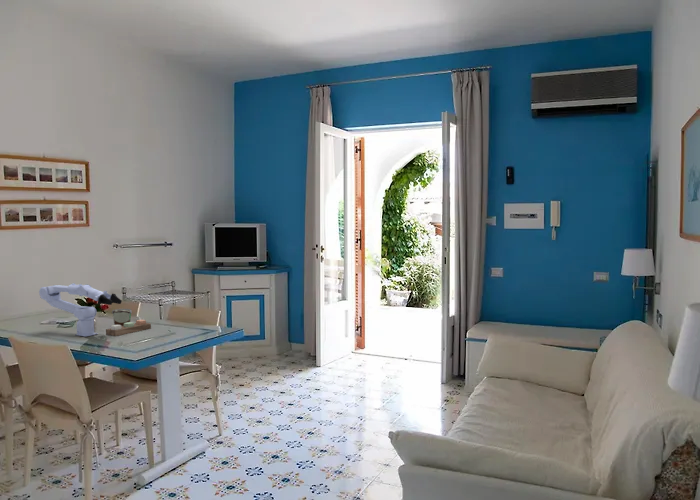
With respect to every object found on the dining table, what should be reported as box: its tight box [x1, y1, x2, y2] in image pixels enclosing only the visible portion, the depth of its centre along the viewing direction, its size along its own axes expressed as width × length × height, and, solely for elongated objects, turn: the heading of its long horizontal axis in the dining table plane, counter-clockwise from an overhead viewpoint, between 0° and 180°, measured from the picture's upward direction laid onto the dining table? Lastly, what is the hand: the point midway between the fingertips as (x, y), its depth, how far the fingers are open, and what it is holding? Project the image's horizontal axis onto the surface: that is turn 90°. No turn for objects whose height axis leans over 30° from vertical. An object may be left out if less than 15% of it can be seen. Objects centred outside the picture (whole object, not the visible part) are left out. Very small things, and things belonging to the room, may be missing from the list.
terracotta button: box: [135, 319, 147, 325], centre depth 341 cm, size 4×4×3 cm
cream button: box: [110, 325, 121, 330], centre depth 327 cm, size 4×4×3 cm
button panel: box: [105, 322, 152, 337], centre depth 334 cm, size 9×24×3 cm, turn 148°
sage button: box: [124, 321, 135, 327], centre depth 334 cm, size 4×4×3 cm
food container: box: [111, 308, 133, 326], centre depth 352 cm, size 12×6×10 cm, turn 84°
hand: (116, 302), depth 318 cm, fingers open, 7 cm apart
